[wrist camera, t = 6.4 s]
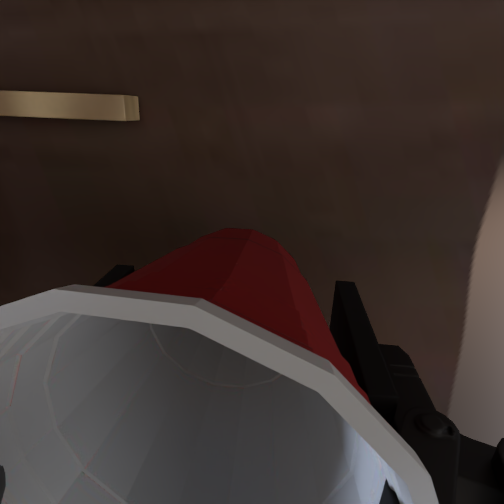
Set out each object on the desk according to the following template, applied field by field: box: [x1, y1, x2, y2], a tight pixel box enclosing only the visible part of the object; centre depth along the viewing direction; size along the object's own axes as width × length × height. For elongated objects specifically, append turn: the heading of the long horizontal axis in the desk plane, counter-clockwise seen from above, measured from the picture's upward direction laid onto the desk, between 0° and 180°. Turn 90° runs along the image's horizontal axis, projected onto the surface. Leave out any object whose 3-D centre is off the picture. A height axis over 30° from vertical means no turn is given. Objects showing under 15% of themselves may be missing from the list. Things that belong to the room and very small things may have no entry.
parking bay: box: [0, 90, 140, 121], centre depth 22 cm, size 14×16×2 cm
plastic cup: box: [0, 228, 439, 504], centre depth 12 cm, size 11×11×12 cm
